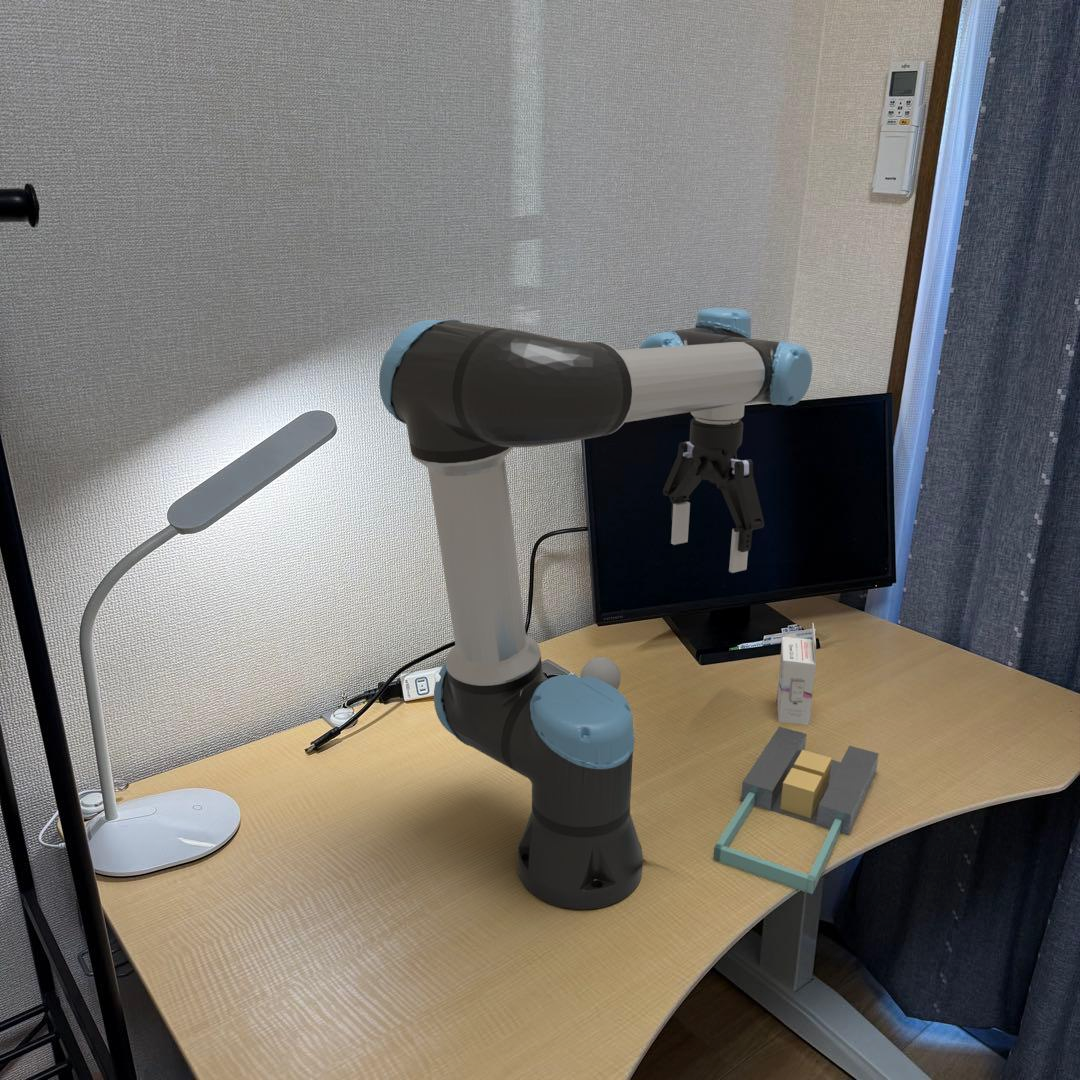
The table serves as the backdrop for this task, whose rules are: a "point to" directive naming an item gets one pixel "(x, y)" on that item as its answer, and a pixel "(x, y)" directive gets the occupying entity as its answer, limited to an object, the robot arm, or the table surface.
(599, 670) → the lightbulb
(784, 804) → the tan wooden cube
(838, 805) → the slot board
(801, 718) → the ink cartridge box
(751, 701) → the table surface
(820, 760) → the beige wooden block
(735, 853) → the teal u-shaped bar frame
